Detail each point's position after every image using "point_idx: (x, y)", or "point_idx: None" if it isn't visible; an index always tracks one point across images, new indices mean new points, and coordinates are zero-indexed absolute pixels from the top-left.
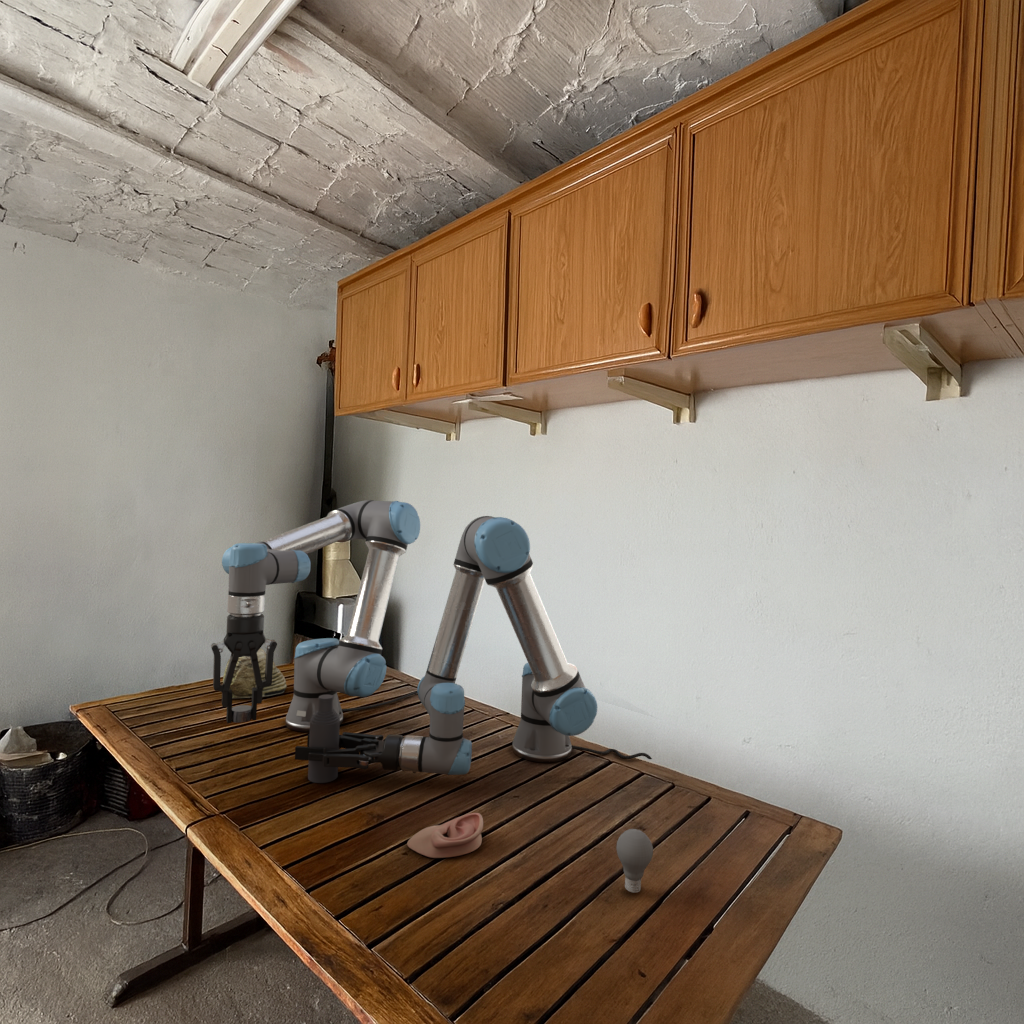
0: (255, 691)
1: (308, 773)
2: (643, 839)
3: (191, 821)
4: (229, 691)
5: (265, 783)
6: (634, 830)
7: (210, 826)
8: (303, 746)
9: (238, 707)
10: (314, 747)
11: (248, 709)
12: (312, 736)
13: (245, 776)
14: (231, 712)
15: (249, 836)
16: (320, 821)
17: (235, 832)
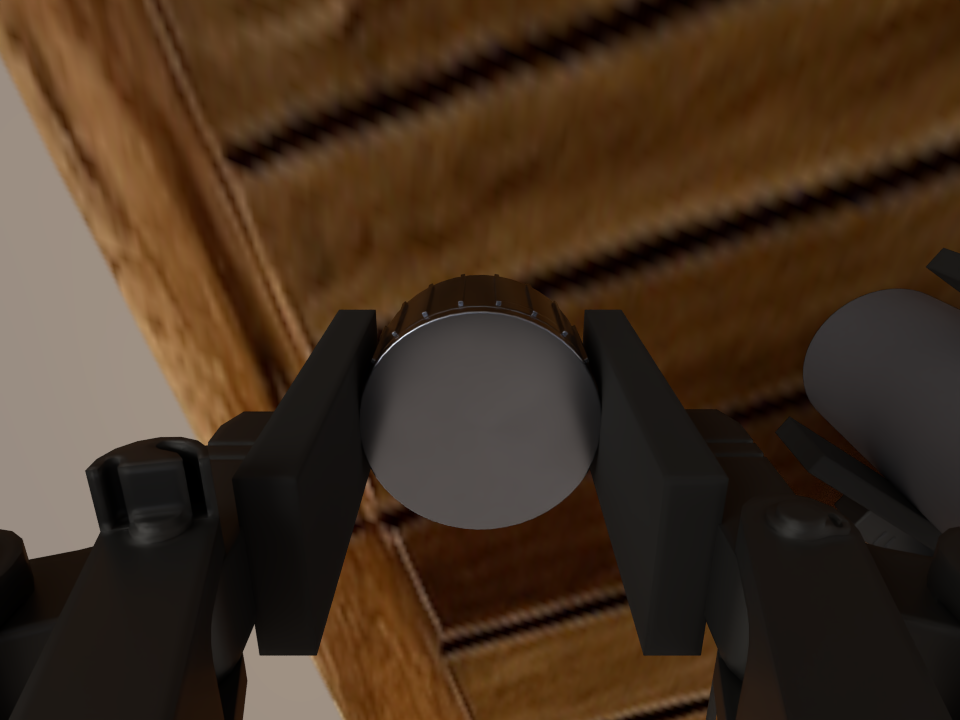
0: (666, 642)
1: (817, 374)
2: None
3: None
4: (267, 572)
5: None
6: None
7: (344, 596)
8: (859, 479)
9: (446, 387)
10: (912, 518)
11: (544, 492)
12: None
13: (521, 192)
14: (364, 481)
15: (466, 696)
16: (707, 696)
17: (425, 660)
